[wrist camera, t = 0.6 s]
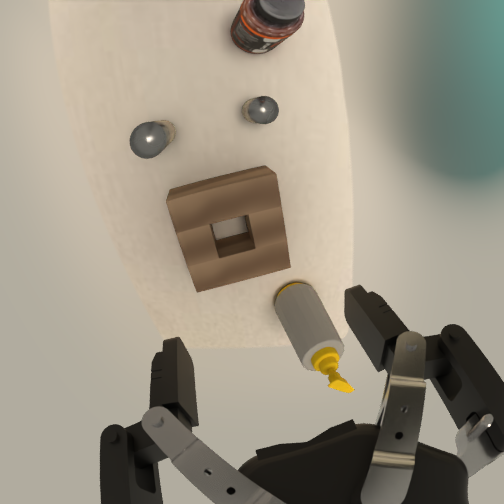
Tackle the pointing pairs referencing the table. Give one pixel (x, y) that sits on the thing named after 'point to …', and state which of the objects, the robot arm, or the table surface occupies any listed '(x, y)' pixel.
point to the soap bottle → (311, 332)
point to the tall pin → (151, 138)
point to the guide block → (223, 208)
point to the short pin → (260, 110)
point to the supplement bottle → (266, 23)
